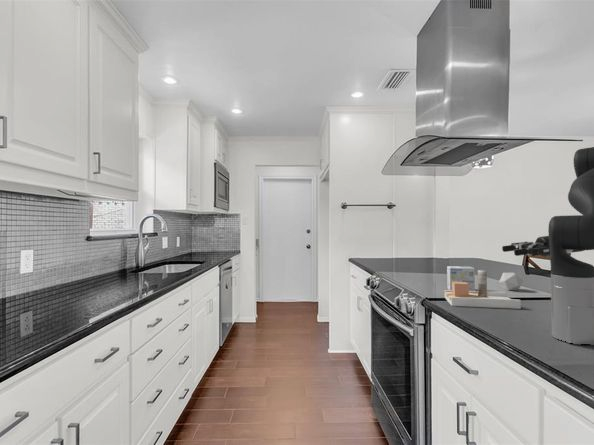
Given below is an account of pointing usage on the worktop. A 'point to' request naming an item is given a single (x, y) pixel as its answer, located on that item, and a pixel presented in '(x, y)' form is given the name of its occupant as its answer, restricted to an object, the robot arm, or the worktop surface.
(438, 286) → the worktop surface
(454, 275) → the light bulb box
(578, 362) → the worktop surface
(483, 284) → the plate with upright post
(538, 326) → the worktop surface
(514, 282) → the die
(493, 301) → the tray
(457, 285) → the block
